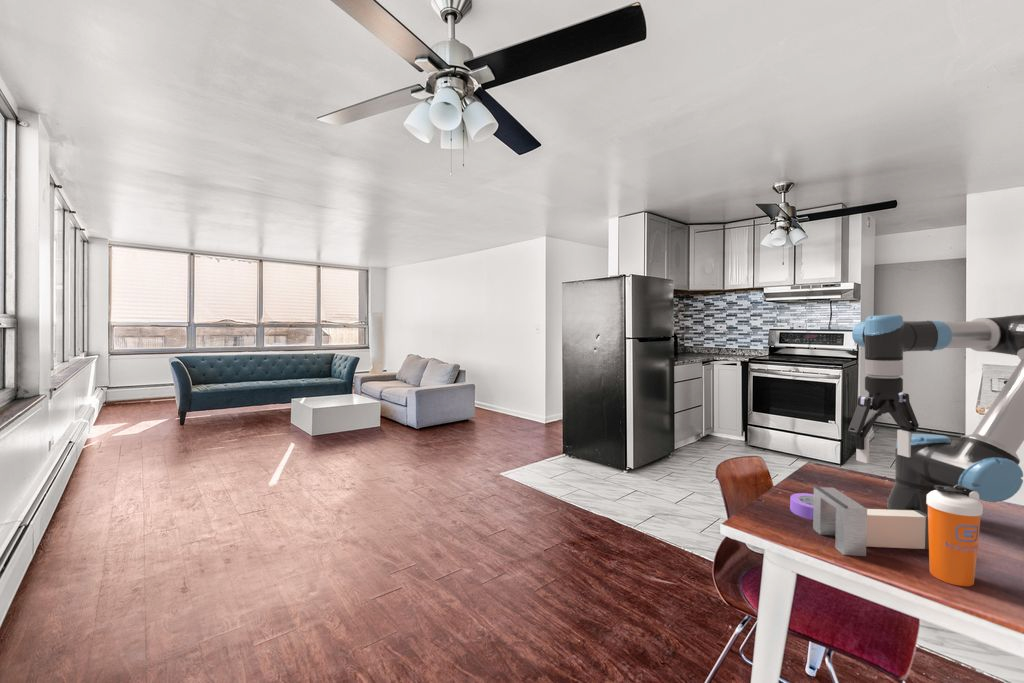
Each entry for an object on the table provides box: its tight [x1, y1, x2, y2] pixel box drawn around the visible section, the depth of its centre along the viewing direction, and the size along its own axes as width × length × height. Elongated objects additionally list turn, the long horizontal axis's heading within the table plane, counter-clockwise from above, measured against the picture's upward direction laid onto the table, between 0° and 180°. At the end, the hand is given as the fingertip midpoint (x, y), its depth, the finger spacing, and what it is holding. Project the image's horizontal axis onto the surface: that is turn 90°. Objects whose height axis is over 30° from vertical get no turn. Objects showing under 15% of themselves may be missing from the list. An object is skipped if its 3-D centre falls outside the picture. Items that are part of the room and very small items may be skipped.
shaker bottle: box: [926, 485, 984, 587], centre depth 101 cm, size 9×9×20 cm
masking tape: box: [789, 492, 814, 521], centre depth 135 cm, size 12×12×4 cm
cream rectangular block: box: [866, 508, 929, 550], centre depth 116 cm, size 16×4×8 cm, turn 83°
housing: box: [812, 484, 868, 557], centre depth 118 cm, size 5×14×12 cm, turn 173°
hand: (883, 458), depth 118 cm, fingers open, 13 cm apart
